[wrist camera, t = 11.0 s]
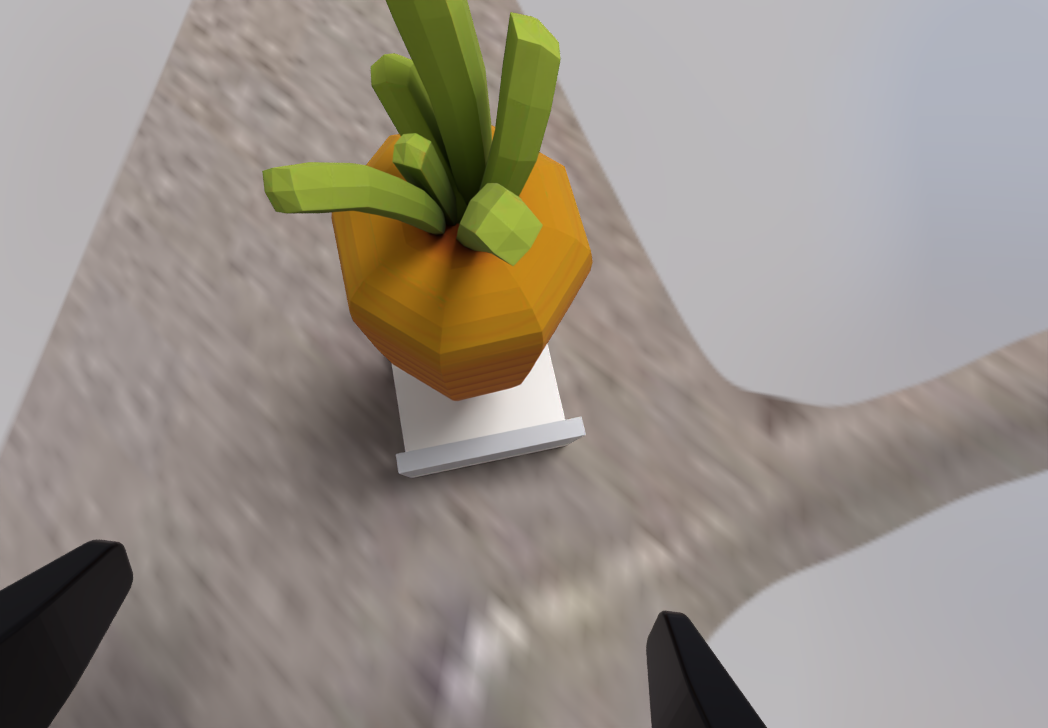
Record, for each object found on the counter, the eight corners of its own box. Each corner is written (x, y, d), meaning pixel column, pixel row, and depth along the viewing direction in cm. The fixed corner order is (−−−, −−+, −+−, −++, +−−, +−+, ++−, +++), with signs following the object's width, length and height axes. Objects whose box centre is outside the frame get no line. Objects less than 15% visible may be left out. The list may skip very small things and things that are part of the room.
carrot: (526, 443, 19) (685, 286, 4) (393, 423, 19) (94, 187, 4) (543, 318, 20) (711, -125, 6) (418, 297, 20) (257, -221, 5)
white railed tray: (566, 445, 20) (585, 434, 16) (411, 478, 19) (398, 473, 16) (527, 272, 22) (536, 230, 18) (383, 295, 21) (365, 256, 17)
